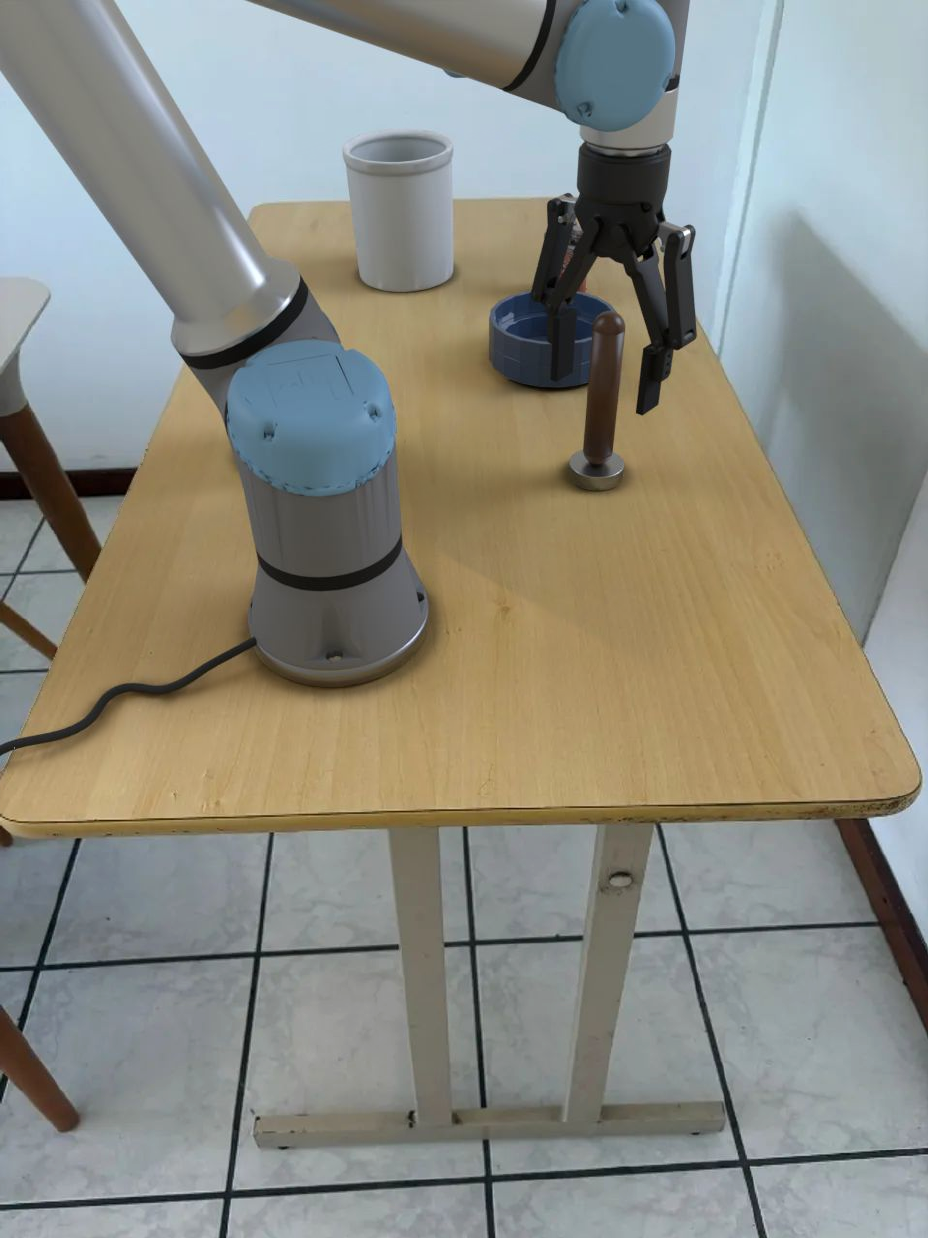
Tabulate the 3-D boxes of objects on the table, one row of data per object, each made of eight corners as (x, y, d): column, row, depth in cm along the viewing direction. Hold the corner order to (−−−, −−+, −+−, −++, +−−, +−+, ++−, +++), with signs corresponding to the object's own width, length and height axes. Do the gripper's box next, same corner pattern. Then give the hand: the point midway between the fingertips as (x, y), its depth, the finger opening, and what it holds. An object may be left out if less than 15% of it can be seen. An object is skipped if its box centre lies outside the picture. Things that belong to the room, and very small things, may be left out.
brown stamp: (601, 497, 96) (618, 331, 84) (557, 477, 99) (567, 313, 87) (633, 473, 99) (653, 310, 87) (589, 454, 102) (603, 294, 90)
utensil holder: (382, 303, 131) (372, 168, 120) (337, 267, 141) (324, 138, 129) (474, 280, 137) (474, 148, 125) (425, 247, 146) (420, 122, 135)
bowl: (562, 405, 110) (565, 356, 106) (464, 365, 118) (463, 318, 114) (637, 358, 118) (643, 311, 114) (541, 323, 126) (542, 278, 122)
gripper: (771, 157, 74) (723, 414, 89) (546, 109, 85) (537, 345, 100) (721, 181, 70) (680, 446, 85) (492, 128, 81) (491, 371, 96)
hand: (603, 391), depth 93 cm, fingers open, 9 cm apart
